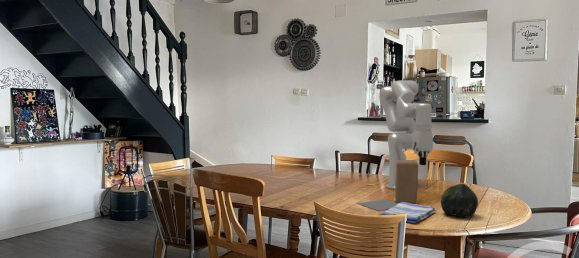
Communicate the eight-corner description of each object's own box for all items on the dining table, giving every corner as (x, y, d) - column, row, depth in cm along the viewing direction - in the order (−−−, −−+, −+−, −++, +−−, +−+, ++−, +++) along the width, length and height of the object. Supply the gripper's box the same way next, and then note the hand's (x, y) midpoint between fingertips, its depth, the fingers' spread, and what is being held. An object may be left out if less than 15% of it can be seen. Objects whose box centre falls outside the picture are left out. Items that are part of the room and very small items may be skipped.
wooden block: (417, 204, 206) (418, 162, 205) (395, 203, 208) (397, 161, 207) (415, 200, 216) (416, 160, 215) (394, 198, 218) (396, 159, 217)
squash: (440, 197, 198) (442, 176, 187) (475, 200, 194) (479, 179, 183) (439, 223, 188) (442, 203, 178) (476, 227, 184) (481, 207, 174)
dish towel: (436, 212, 191) (436, 206, 190) (417, 225, 172) (417, 218, 172) (399, 206, 201) (399, 200, 201) (377, 217, 182) (377, 211, 182)
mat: (384, 200, 216) (384, 199, 216) (406, 206, 202) (406, 206, 202) (357, 203, 208) (357, 203, 208) (378, 211, 194) (378, 210, 194)
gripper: (428, 127, 221) (428, 163, 222) (406, 128, 214) (406, 165, 216) (440, 128, 215) (439, 164, 216) (417, 129, 208) (416, 166, 209)
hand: (422, 164), depth 216 cm, fingers closed
